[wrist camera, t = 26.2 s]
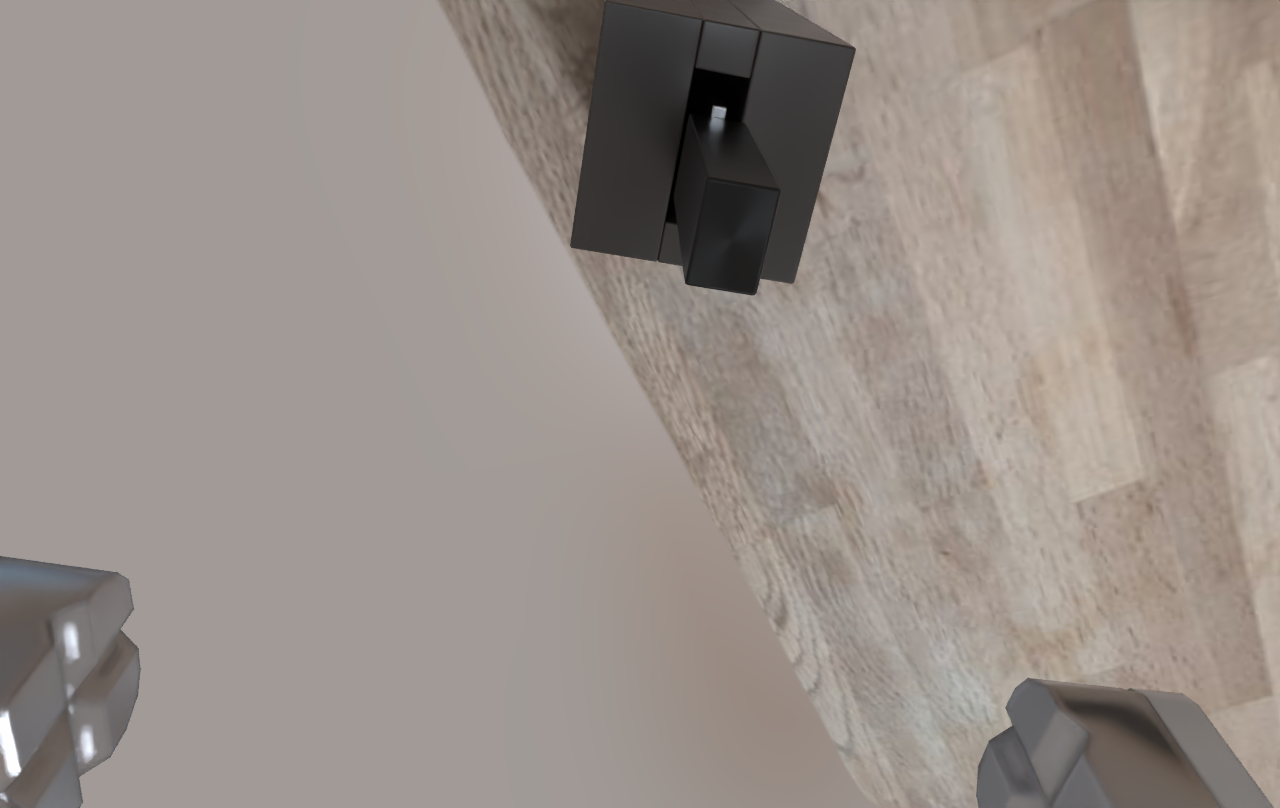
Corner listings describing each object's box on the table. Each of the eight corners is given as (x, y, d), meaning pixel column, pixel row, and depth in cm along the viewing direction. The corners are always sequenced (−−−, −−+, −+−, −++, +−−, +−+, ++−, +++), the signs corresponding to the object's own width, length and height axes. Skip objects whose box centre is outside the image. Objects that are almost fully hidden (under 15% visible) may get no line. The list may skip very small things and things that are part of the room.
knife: (657, 98, 42) (681, 298, 20) (669, 29, 41) (709, 161, 19) (691, 105, 42) (753, 309, 20) (705, 36, 41) (785, 175, 19)
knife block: (593, 127, 44) (570, 248, 28) (617, -32, 41) (604, 0, 25) (737, 153, 44) (794, 285, 28) (771, -3, 41) (857, 47, 25)
